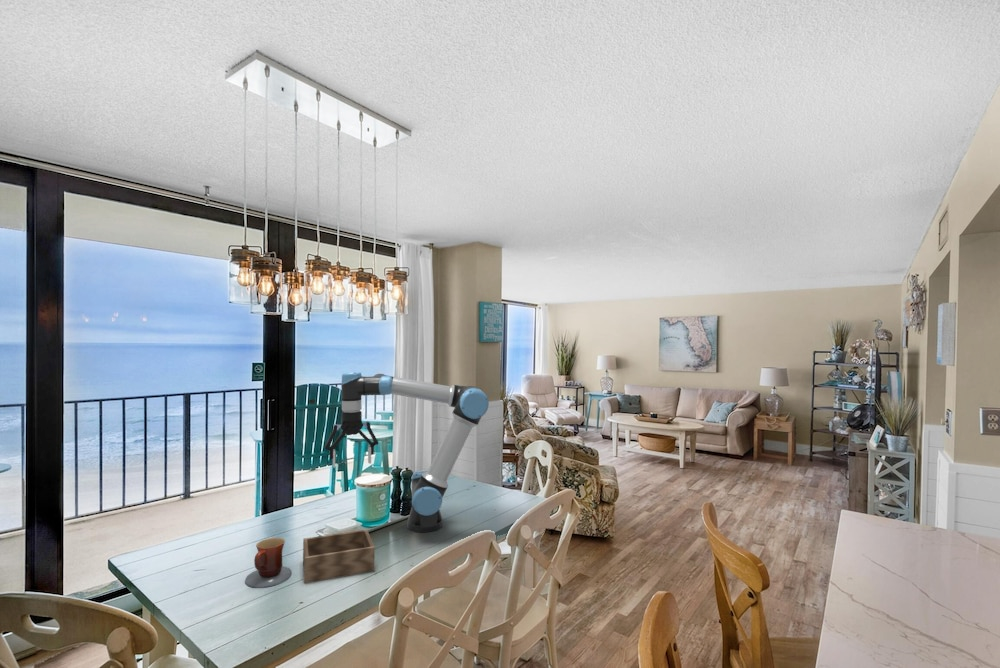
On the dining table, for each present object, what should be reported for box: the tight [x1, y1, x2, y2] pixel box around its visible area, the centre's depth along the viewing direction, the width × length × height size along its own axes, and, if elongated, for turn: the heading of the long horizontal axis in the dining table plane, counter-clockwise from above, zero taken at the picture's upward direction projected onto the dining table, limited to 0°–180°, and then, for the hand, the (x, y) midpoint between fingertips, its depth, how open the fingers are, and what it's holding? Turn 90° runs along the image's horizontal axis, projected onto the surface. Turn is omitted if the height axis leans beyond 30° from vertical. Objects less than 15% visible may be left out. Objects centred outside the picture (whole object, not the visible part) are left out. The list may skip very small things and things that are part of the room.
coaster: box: [244, 565, 293, 589], centre depth 161 cm, size 14×14×1 cm
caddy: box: [302, 529, 376, 584], centre depth 170 cm, size 22×17×8 cm
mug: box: [253, 537, 286, 578], centre depth 161 cm, size 12×9×10 cm
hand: (352, 464), depth 190 cm, fingers open, 13 cm apart
